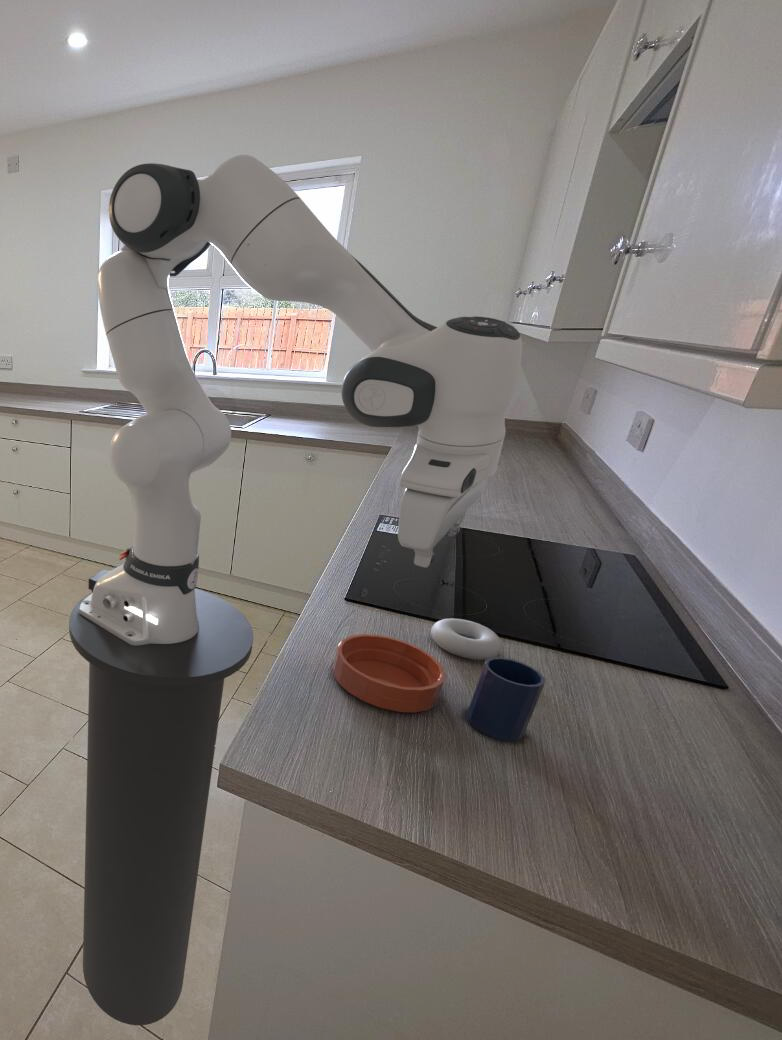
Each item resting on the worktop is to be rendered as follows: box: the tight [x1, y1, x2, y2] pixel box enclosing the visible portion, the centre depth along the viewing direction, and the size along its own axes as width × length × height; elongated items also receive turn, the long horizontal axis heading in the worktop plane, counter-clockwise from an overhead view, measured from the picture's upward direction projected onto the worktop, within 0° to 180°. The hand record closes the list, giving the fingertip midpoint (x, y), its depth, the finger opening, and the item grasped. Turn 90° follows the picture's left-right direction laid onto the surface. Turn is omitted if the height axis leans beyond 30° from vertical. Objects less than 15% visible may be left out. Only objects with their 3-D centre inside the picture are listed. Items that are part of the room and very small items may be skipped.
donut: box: [430, 617, 503, 661], centre depth 95 cm, size 10×4×10 cm
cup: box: [466, 656, 546, 742], centre depth 76 cm, size 6×6×9 cm
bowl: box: [332, 633, 447, 713], centre depth 85 cm, size 14×14×4 cm
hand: (436, 548), depth 77 cm, fingers open, 8 cm apart
